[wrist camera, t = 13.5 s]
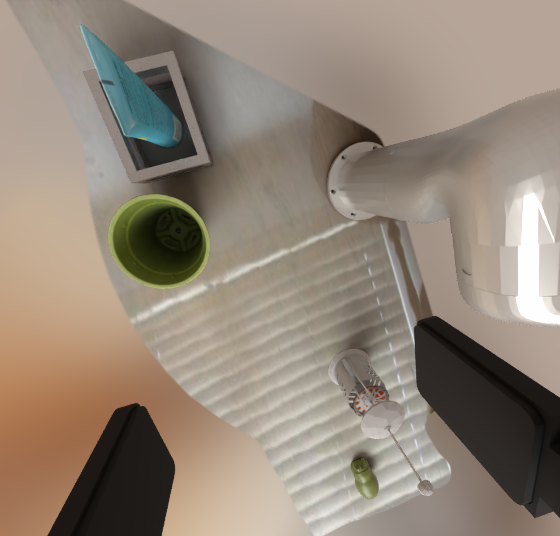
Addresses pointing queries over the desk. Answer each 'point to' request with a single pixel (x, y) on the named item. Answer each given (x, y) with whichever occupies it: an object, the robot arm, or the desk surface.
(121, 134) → the square metal frame
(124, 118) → the tube
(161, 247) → the plant pot
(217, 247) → the desk surface
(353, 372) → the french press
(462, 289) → the robot arm
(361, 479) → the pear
